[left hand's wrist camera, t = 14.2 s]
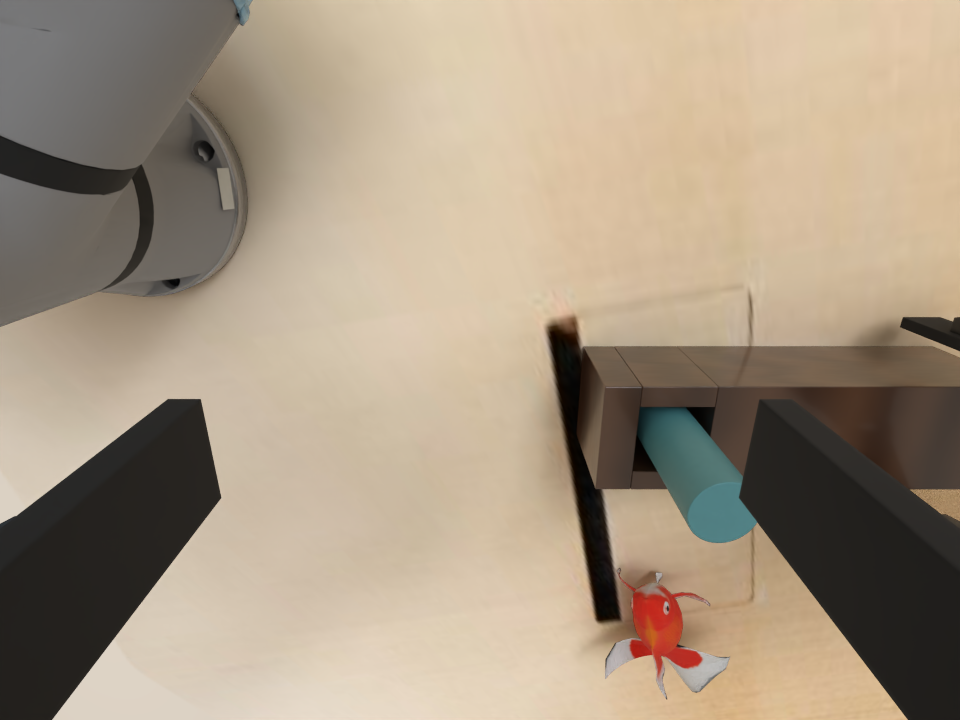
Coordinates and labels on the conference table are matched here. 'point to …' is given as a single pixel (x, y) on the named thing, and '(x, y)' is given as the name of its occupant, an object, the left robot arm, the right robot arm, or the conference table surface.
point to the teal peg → (695, 473)
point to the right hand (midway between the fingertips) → (893, 405)
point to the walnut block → (775, 375)
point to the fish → (663, 638)
